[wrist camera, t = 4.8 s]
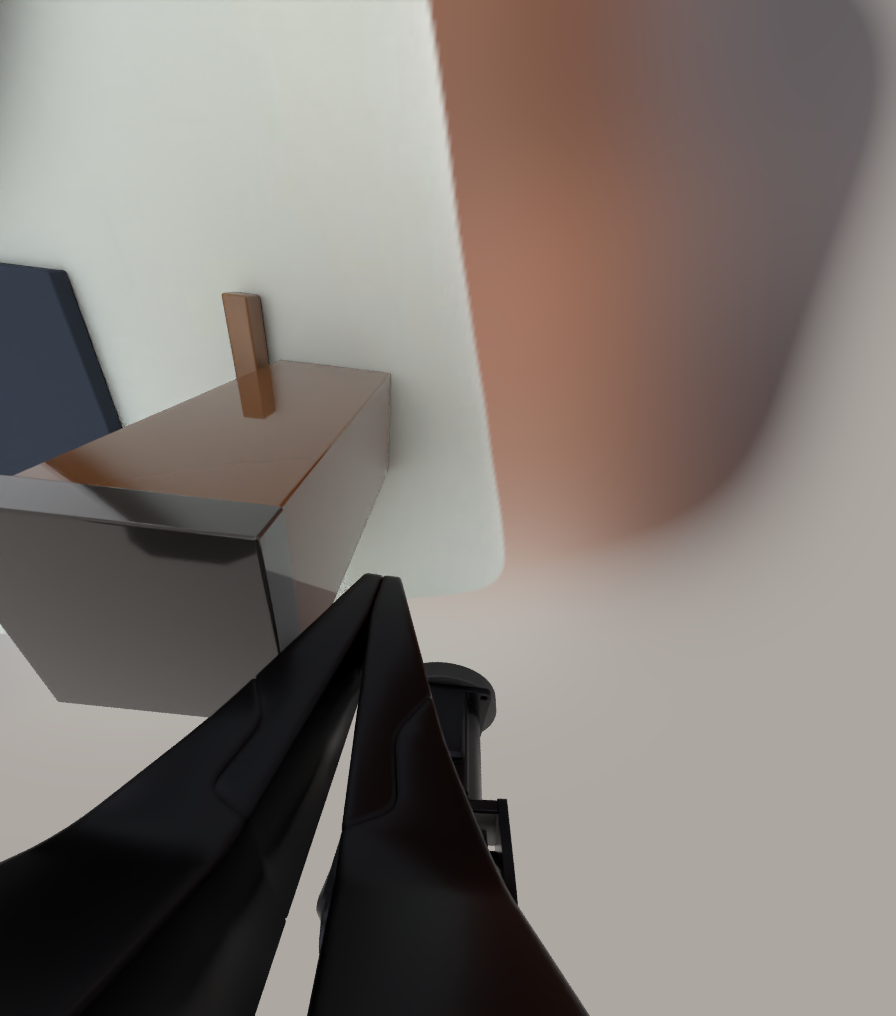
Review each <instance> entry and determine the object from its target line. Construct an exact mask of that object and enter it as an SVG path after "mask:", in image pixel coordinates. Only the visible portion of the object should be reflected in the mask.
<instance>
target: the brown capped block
mask: <svg viewBox="0 0 896 1016" xmlns="http://www.w3.org/2000/svg"><path fill="white" fill-rule="evenodd" d="M389 407H390V373H386V372H377V371H369V370H361V369H352V368H344V367H336V366H327V365H319V364H311V363H303V362H294V361H286V360H279V361H277V362H275V363H272V364H270V365H268V366H265V367H263V368H261V369H258V370H256V371H254V372H252V373H249V374H247V375H245V376H242V377H240V378H238V379H235V380H233V381H231V382H228V383H226V384H224V385H221V386H219V387H217V388H214V389H212V390H210V391H208V392H205V393H203V394H201V395H198V396H196V397H194V398H191V399H189V400H187V401H184V402H182V403H180V404H177V405H175V406H173V407H170V408H168V409H166V410H163V411H161V412H159V413H157V414H154V415H152V416H150V417H147V418H145V419H143V420H140V421H138V422H136V423H133V424H131V425H129V426H126V427H124V428H122V429H119V430H117V431H115V432H112V433H110V434H108V435H106V436H103V437H101V438H99V439H96V440H94V441H92V442H89V443H87V444H85V445H82V446H80V447H78V448H75V449H73V450H71V451H68V452H66V453H64V454H62V455H59V456H57V457H55V458H52V459H50V460H48V461H45V462H43V463H41V464H38V465H36V466H34V467H31V468H29V469H27V470H24V471H22V472H20V473H17V474H15V475H13V476H10V475H1V474H0V624H1V626H2V627H3V628H4V630H5V631H6V632H7V634H8V635H9V636H10V638H11V639H12V640H13V642H14V643H15V644H16V646H17V647H18V648H19V650H20V651H21V652H22V654H23V655H24V657H25V658H26V659H27V660H28V662H29V663H30V665H31V666H32V667H33V668H34V670H35V671H36V673H37V674H38V675H39V677H40V678H41V679H42V681H43V682H44V683H45V685H46V686H47V687H48V689H49V690H50V691H51V693H52V694H53V695H54V697H55V698H56V700H57V701H59V702H66V703H76V704H85V705H95V706H104V707H114V708H123V709H133V710H143V711H152V712H162V713H171V714H181V715H191V716H200V717H210V716H211V715H213V714H214V713H215V712H216V711H217V710H218V709H219V708H220V707H222V706H223V705H224V704H225V703H226V702H227V701H228V700H229V699H231V698H232V697H233V696H234V695H235V694H236V693H237V692H238V691H239V690H240V689H242V688H243V687H244V686H245V685H246V684H247V683H248V682H249V681H250V680H251V679H253V678H254V679H256V675H257V674H258V673H259V672H260V671H261V670H262V669H263V668H264V667H265V666H266V665H268V664H269V663H270V662H271V661H272V660H273V659H274V658H275V657H276V656H277V655H278V654H279V653H280V652H282V651H283V650H284V649H285V648H286V647H287V646H288V645H289V644H290V643H291V642H292V641H293V640H294V639H295V638H297V637H298V636H299V635H300V634H301V633H302V632H303V631H304V630H305V629H306V628H307V627H308V626H309V625H311V624H312V623H313V622H314V621H315V620H316V619H317V618H318V617H319V616H320V615H321V614H322V613H323V612H324V611H326V610H327V609H328V608H329V607H330V606H331V605H332V604H333V602H334V599H335V597H336V595H337V592H338V590H339V587H340V585H341V583H342V580H343V578H344V575H345V573H346V571H347V568H348V566H349V563H350V561H351V559H352V556H353V554H354V551H355V549H356V547H357V544H358V542H359V539H360V537H361V535H362V532H363V530H364V527H365V525H366V523H367V520H368V518H369V515H370V513H371V511H372V508H373V506H374V503H375V501H376V499H377V496H378V494H379V491H380V489H381V487H382V484H383V482H384V479H385V477H386V475H387V472H388V446H389Z"/></svg>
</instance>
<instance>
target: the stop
mask: <svg viewBox="0 0 896 1016" xmlns="http://www.w3.org/2000/svg"><path fill="white" fill-rule="evenodd" d="M222 300H223V305H224V311H225V316H226V322H227V327H228V333H229V338H230V344H231V349H232V355H233V360H234V366H235V371H236V377H237V379H238V378H240V377H242V376H245V375H247V374H249V373H252V372H254V371H256V370H258V369H261V368H263V367H265V366H268V365H269V362H268V355H267V347H266V340H265V332H264V325H263V318H262V310H261V303H260V297H259V295H257V294H249V293H241V292H230V293H222Z"/></svg>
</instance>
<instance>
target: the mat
mask: <svg viewBox="0 0 896 1016" xmlns="http://www.w3.org/2000/svg"><path fill="white" fill-rule="evenodd" d="M119 429H122V428H121V425H120V422H119V420H118V417H117V414H116V411H115V408H114V406H113V403H112V400H111V397H110V394H109V392H108V389H107V386H106V383H105V381H104V378H103V375H102V372H101V369H100V367H99V364H98V361H97V358H96V356H95V353H94V350H93V347H92V344H91V342H90V339H89V336H88V333H87V331H86V328H85V325H84V322H83V319H82V317H81V314H80V311H79V308H78V306H77V303H76V300H75V297H74V294H73V292H72V289H71V286H70V283H69V280H68V278H67V275H66V272H65V271H63V270H55V269H47V268H39V267H31V266H22V265H14V264H6V263H0V474H1V475H10V476H13V475H15V474H17V473H20V472H22V471H24V470H27V469H29V468H31V467H34V466H36V465H38V464H41V463H43V462H45V461H48V460H50V459H52V458H55V457H57V456H59V455H62V454H64V453H66V452H68V451H71V450H73V449H75V448H78V447H80V446H82V445H85V444H87V443H89V442H92V441H94V440H96V439H99V438H101V437H103V436H106V435H108V434H110V433H112V432H115V431H117V430H119Z"/></svg>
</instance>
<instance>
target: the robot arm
mask: <svg viewBox="0 0 896 1016" xmlns="http://www.w3.org/2000/svg"><path fill="white" fill-rule="evenodd" d="M490 701H491V691H490V690H489V689H487V688H479V687H470V686H461V685H451V684H442V683H432V682H428V679H427V675H426V671H425V668H424V664H423V660H422V657H421V653H420V649H419V645H418V641H417V637H416V634H415V630H414V626H413V622H412V619H411V615H410V611H409V607H408V604H407V600H406V596H405V592H404V588H403V585H402V581H401V579H400V578H399V577H394V576H384V577H382V576H381V575H377V574H368V573H367V574H364V575H363V576H362V577H361V578H360V579H359V580H358V581H357V582H356V583H355V584H353V585H352V586H351V587H350V588H349V589H348V590H347V591H346V592H345V593H344V594H343V595H342V596H341V597H339V598H338V599H337V600H336V601H335V602H334V603H333V604H332V605H331V606H330V607H329V608H328V609H327V610H326V611H324V612H323V613H322V614H321V615H320V616H319V617H318V618H317V619H316V620H315V621H314V622H313V623H312V624H311V625H309V626H308V627H307V628H306V629H305V630H304V631H303V632H302V633H301V634H300V635H299V636H298V637H297V638H295V639H294V640H293V641H292V642H291V643H290V644H289V645H288V646H287V647H286V648H285V649H284V650H283V651H282V652H280V653H279V654H278V655H277V656H276V657H275V658H274V659H273V660H272V661H271V662H270V663H269V664H268V665H266V666H265V667H264V668H263V669H262V670H261V671H260V672H259V673H258V674H257V675H256V679H254V678H253V679H251V680H250V681H249V682H248V683H247V684H246V685H245V686H244V687H243V688H242V689H240V690H239V691H238V692H237V693H236V694H235V695H234V696H233V697H232V698H231V699H229V700H228V701H227V702H226V703H225V704H224V705H223V706H222V707H220V708H219V709H218V710H217V711H216V712H215V713H214V714H213V715H211V716H210V717H209V718H208V719H206V720H205V721H204V722H203V723H202V724H200V725H199V726H198V727H197V728H195V729H194V730H193V731H192V732H191V733H190V734H188V735H187V736H186V737H184V738H183V739H182V740H181V741H179V742H178V743H177V744H176V745H175V746H173V747H172V748H171V749H169V750H168V751H167V752H165V753H164V754H163V755H162V756H160V757H159V758H158V759H157V760H155V761H154V762H153V763H151V764H150V765H149V766H148V767H146V768H145V769H144V770H143V771H141V772H140V773H139V774H137V775H136V776H135V777H134V778H132V779H131V780H130V781H129V782H127V783H126V784H125V785H123V786H122V787H121V788H120V789H119V790H117V791H116V792H114V793H113V794H112V795H111V796H109V797H108V798H107V799H106V800H104V801H103V802H102V803H100V804H99V805H98V806H96V807H95V808H94V809H93V810H91V811H90V812H89V813H87V814H86V815H84V816H83V817H82V818H80V819H79V820H77V821H76V822H74V823H73V824H71V825H70V826H69V827H67V828H65V829H63V830H62V831H60V832H59V833H57V834H55V835H54V836H52V837H50V838H48V839H47V840H45V841H43V842H41V843H39V844H38V845H36V846H34V847H32V848H30V849H28V850H26V851H24V852H22V853H19V854H17V855H16V856H13V857H11V858H8V859H7V860H4V861H2V862H0V1016H255V1013H256V1010H257V1007H258V1004H259V1001H260V998H261V995H262V992H263V989H264V986H265V983H266V980H267V977H268V974H269V971H270V968H271V965H272V962H273V959H274V956H275V953H276V950H277V947H278V944H279V941H280V938H281V935H282V932H283V928H284V926H285V923H286V920H285V918H287V916H288V913H289V910H290V907H291V904H292V901H293V898H294V895H295V892H296V889H297V886H298V883H299V880H300V877H301V874H302V871H303V868H304V865H305V862H306V859H307V856H308V852H309V849H310V847H311V844H312V841H313V838H314V835H315V831H316V828H317V825H318V822H319V819H320V816H321V813H322V810H323V807H324V804H325V801H326V798H327V795H328V792H329V789H330V786H331V783H332V780H333V777H334V774H335V771H336V768H337V765H338V762H339V759H340V756H341V753H342V750H343V747H344V744H345V741H346V738H347V734H348V732H349V729H350V726H351V722H352V720H353V717H354V713H355V711H356V708H357V704H358V709H357V715H356V723H355V731H354V739H353V746H352V754H351V761H350V769H349V776H348V784H347V792H346V800H345V807H344V815H343V823H342V833H341V838H340V841H339V844H338V847H337V850H336V853H335V856H334V860H333V863H332V866H331V869H330V872H329V874H328V876H327V879H326V881H325V883H324V886H323V888H322V891H321V893H320V895H319V898H318V902H317V909H316V910H317V913H318V916H319V918H320V921H321V926H320V937H319V960H318V964H317V969H316V974H315V979H314V984H313V989H312V994H311V999H310V1004H309V1009H308V1014H307V1016H590V1015H589V1014H588V1013H587V1011H586V1009H585V1008H584V1006H583V1005H582V1003H581V1002H580V1000H579V999H578V997H577V995H576V994H575V992H574V991H573V990H572V988H571V986H570V985H569V983H568V982H567V980H566V979H565V977H564V976H563V974H562V973H561V971H560V970H559V968H558V966H557V965H556V963H555V962H554V961H553V959H552V957H551V956H550V954H549V953H548V951H547V950H546V948H545V947H544V945H543V944H542V942H541V941H540V939H539V937H538V936H537V934H536V933H535V931H534V930H533V928H532V927H531V925H530V924H529V922H528V921H527V919H526V918H525V916H524V915H523V913H522V912H521V910H520V908H519V907H518V901H517V890H516V881H515V871H514V863H513V853H512V843H511V833H510V824H509V815H508V805H507V799H497V801H495V800H494V801H493V800H482V790H481V752H480V736H481V733H482V729H483V726H484V722H485V719H486V715H487V712H488V708H489V705H490ZM488 845H491V846H495V851H489V849H488Z"/></svg>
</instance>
